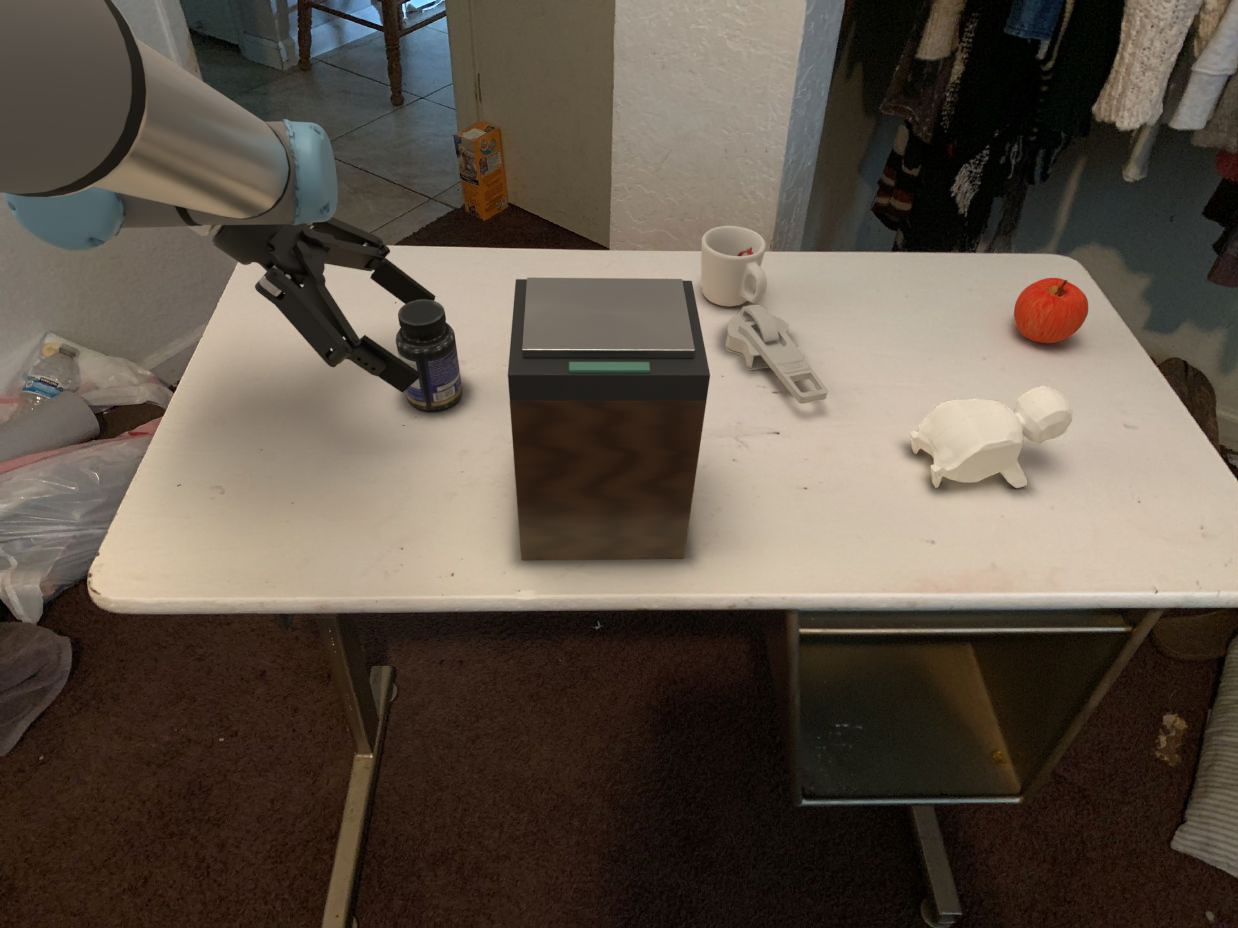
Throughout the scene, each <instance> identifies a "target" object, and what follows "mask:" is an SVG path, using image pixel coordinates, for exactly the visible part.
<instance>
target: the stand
mask: <svg viewBox="0 0 1238 928" xmlns="http://www.w3.org/2000/svg"><path fill="white" fill-rule="evenodd" d="M706 407H707V400H706V401H510V400H509V411H510V425H511V441H512V453H513V465H514V478H515V479H514V480H515V493H516V506H517V507H516V508H517V522H518V534H519V535H518V536H519V537H518V538H519V548H520V560H521V561H543V560H544V561H545V560H547V561H550V560H551V561H552V560H553V561H557V560H633V559H634V560H639V559H640V560H642V559H643V560H649V559H656V560H657V559H685V554H686V547H687V540H688V533H689V527H690V519H691V512H692V505H693V499H694V498H693V497H694V491H695V484H696V477H697V471H698V462H699V456H700V450H701V442H702V435H703V429H704V420H705V414H706V409H707V408H706Z"/></svg>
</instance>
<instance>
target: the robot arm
mask: <svg viewBox="0 0 1238 928" xmlns="http://www.w3.org/2000/svg"><path fill="white" fill-rule="evenodd" d="M332 147H333V146H332V144H331V141H330V137H329V136H328V134H327V132H326V131H325V129H324V128H323V127H322V126H320V125H319V124H318V123H314V122H307V121H291V120H289V119H287V118H286V119H285V118H284V119H283V118H282V119H281V120H279V121H264V120H263V119H261V118H259V117H258V116H256V115H255V114H253V113H252V112H250V111H248V109H246V108H244V107H243V106H241V105H239V104H238V103H236V102H235V101H233V100H232V99H230V98H229V97H227V96H226V95H224V94H223V93H221V92H220V91H218V90H216V89H215V88H213V87H211V85H209V84H207V83H206V82H204V81H203V80H201V78H199V77H196V76H195V75H193V74H192V73H190V72H189V71H187V70H186V69H184V68H182V67H181V66H180V65H178V64H176V62H174V61H172V60H170V59H169V58H167V57H166V56H165V55H163V54H161V53H159V52H158V51H157V50H155V49H154V48H152V47H151V46H150V45H147V44H146V43H144V42H143V41H141V40H140V39H139V38H137V36H136V34H135V32H134V30H133V28H132V27H131V25H130V23H129V21H128V19H127V18H126V17H125V15H124V14H123V12H122V10H121V9H120V8H119V6H117V4H116V3H115V2H114V1H113V0H0V193H1V194H2V193H3V197H4V200H5V204H6V206H7V207H8V209H9V210H10V212H11V214H12V216H13V217H14V218H15V220H16V221H17V222H18V223H19V224H20V225H21V227H23V228H24V229H25V230H26V231H27V232H29V234H30V235H32V236H33V237H35V238H37V239H38V240H40V241H42V242H44V243H46V244H48V245H50V246H52V247H54V248H55V247H56V248H59V249H62V250H67V251H77V252H79V251H81V252H82V251H89V250H92V249H96V248H98V247H100V246H102V245H104V244H105V243H106V242H108V241H109V240H111V239H113V238H114V237H117V236H118V235H119V233H120V232H121V230H122V229H133V228H134V229H141V228H146V229H147V228H175V227H178V228H179V227H188V228H189V229H190V230H192V231H193V232H194V233H196V234H197V235H199V236H200V237H207V235H208V234H209V235H210V236H212V238H211V242H212V243H213V244H212V245H213V246H214V247H215V248H217V249H218V250H220V251H222V252H223V253H225V254H226V255H227V256H229V257H231V258H232V259H233V260H235V261H236V262H238V264H240V265H243V266H249V265H251V264H252V263H256V264H258V265H259V266H260V267H262V268H263V269H264V270H265V273H264V274H263V275H262V276H261V278H260V279H259V280H258V281H257V282H256V283H255V284H254V290H255V291H256V292H257V293H259V295H261V296H262V297H264V298H265V299H266V300H268V301H269V302H271V303H272V304H273V305H274V306H275V307H276V308H277V309H278V310H279V311H280V313H281V314H282V315H283V316H284V317H285V318H286V320H288V321H289V324H291V325H292V326H293V327H294V329H296V331H297V332H298V333H299V334H300V335H301V337H303V339H304V340H305V341H306V342H307V343H308V344H309V345H310V347H311V348H312V349H313V350H314V351H315V352H316V353H317V355H318V356H319V357H320V358H321V359H322V361H324V363H325V364H326V365H328V366H329V367H330V368H336V367H337V366H338V365H341V364H342V363H343V362H344V361H345V360H348V361H350V362H352V363H353V364H355V365H356V366H358V367H360V368H361V369H363V370H364V371H366V372H367V373H369V374H370V375H372V376H374V377H378V378H379V379H380V380H382V381H383V382H385V383H387V384H388V385H390V386H391V387H393V388H394V389H395V390H397V391H399V392H401V393H405V392H406V391H405V390H406V389H407V388H409V387H410V386H411V385H412V384H413V383H414V382H415V381H416V380H418V379H419V377H420V372H418V371H417V370H415V369H414V368H412V367H411V366H409V365H408V364H406V363H405V362H404V361H402V360H401V359H399V356H397V355H395V354H394V353H392V352H391V351H389V350H388V349H386V348H385V347H384V346H382V345H381V344H379V343H377V342H376V341H374V339H372V338H370V337H369V336H367V335H366V334H364V335H362V337H359V335H358V333H356V331H355V330H354V328H353V327H352V325H351V323H350V322H349V320H348V319H347V317H346V315H345V314H344V312H343V311H342V309H341V308H340V306H339V305H338V303H337V301H336V300H335V298H334V297H333V295H332V294H331V292H330V291H329V289H328V288H327V286H326V282H327V281H326V276H325V275H324V272H325V269H326V267H325V266H326V265H329V266H330V265H331V266H335V267H342V268H348V269H354V270H359V271H366V272H372V273H371V274H370V280H372V281H373V282H374V283H376V284H378V285H379V286H380V287H381V288H383V289H384V290H386V291H387V292H388V293H389V294H391V295H392V296H394V297H395V298H396V299H398V300H399V301H401V303H403V304H404V305H405V304H407V303H409V302H411V301H415V300H422V299H426V300H433V301H436V295H435V294H434V293H432V292H431V291H429V290H428V289H427V288H425V287H424V286H423V285H422V284H420V283H419V282H418V281H416V280H415V279H414V278H413V277H412V276H410V275H409V274H407V273H406V272H405V271H403V270H402V269H400V267H398V266H397V265H395V264H394V263H393V262H392V261H390V260H389V259H387V256H388V255H390V253H391V250H390V249H391V248H389V246H387V245H386V244H385V243H384V241H383V240H382V238H380V237H379V236H378V235H375V234H373V233H370V232H368V231H366V230H364V229H362V228H359V227H357V226H354V225H352V224H349V223H348V222H345V221H343V220H341V219H338V218H336V217H334V215H335V214H336V211H337V208H338V201H339V183H338V174H337V166H336V161H335V154H334V151H333V148H332ZM365 243H366V245H365Z"/></svg>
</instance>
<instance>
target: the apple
mask: <svg viewBox="0 0 1238 928" xmlns="http://www.w3.org/2000/svg"><path fill="white" fill-rule="evenodd" d="M1088 313H1089V300H1088V297H1087V296H1086V294H1085V292H1083V291H1082V290H1081V288H1080V287H1078V286H1077V285H1075V284H1074V283H1071V282H1069V281H1068V280H1067V279H1064V278H1060V277H1046V278H1042V279H1039V280H1037V281H1034V282H1033V283H1031V284H1029V285H1028V286H1026V287H1025V288H1024V289H1023V290H1022V291H1021V292H1020V294H1019V295H1018V297H1017V298H1016V300H1015V303H1014V309H1013V318H1014V323H1015V325H1016V328H1017V330H1018V331H1019V332H1020V334H1021V335H1022V336H1023V337H1025V338H1026V339H1028V340H1031V341H1032V342H1036V343H1040V344H1054V343H1059V342H1062V341H1065V340H1067V339H1069V338H1070V337H1071V336H1073V335H1074V334H1075V333H1077V332H1078V331H1079V330H1080V328H1081V327H1082V326H1083V324H1084V323H1085V321H1086V319H1087V317H1088Z"/></svg>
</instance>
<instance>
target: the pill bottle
mask: <svg viewBox="0 0 1238 928" xmlns="http://www.w3.org/2000/svg"><path fill="white" fill-rule="evenodd" d="M397 318H398V324H399V327H400V328H399V329H398V330H397V332H396V336H395V344H396V350H397V356H398V358H399V359H401V360H402V361H404V362H405V363H406V364H408V365H409V366H411V367H412V368H414V369H415V370H417V371H418V372H420V377H419V379H418V380H416V381H415V382H414V383H413V384H412V385H411V386H410V387H409V388H407V389H406V390H405V391H404V392H405V397H406V399H407V401H408V402H409V404H410V405H411V406H413V407H414V408H416V409H418V410H421V411H433V412H434V411H440V410H444V409H447V408H450V407H451V406H454V405H455V404H457V402H458V401H459V400H460V399H461V397H462V395H463V394H462V393H463V385H462V377H461V371H460V363H459V355H458V348H457V340H456V333H455V330H454V329H453V328H452V326H451V325H450V324H449V323H448V322H447V317H446V311H445V307H444V306H443V305H442V304H441V303H440V302H438V301H436V300H434V301H433V300H426V299H422V300H415V301H411V302H409V303H407V304H405V303H404V304H403V305H402V306H401V307H400V308H399V310H398V313H397Z"/></svg>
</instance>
